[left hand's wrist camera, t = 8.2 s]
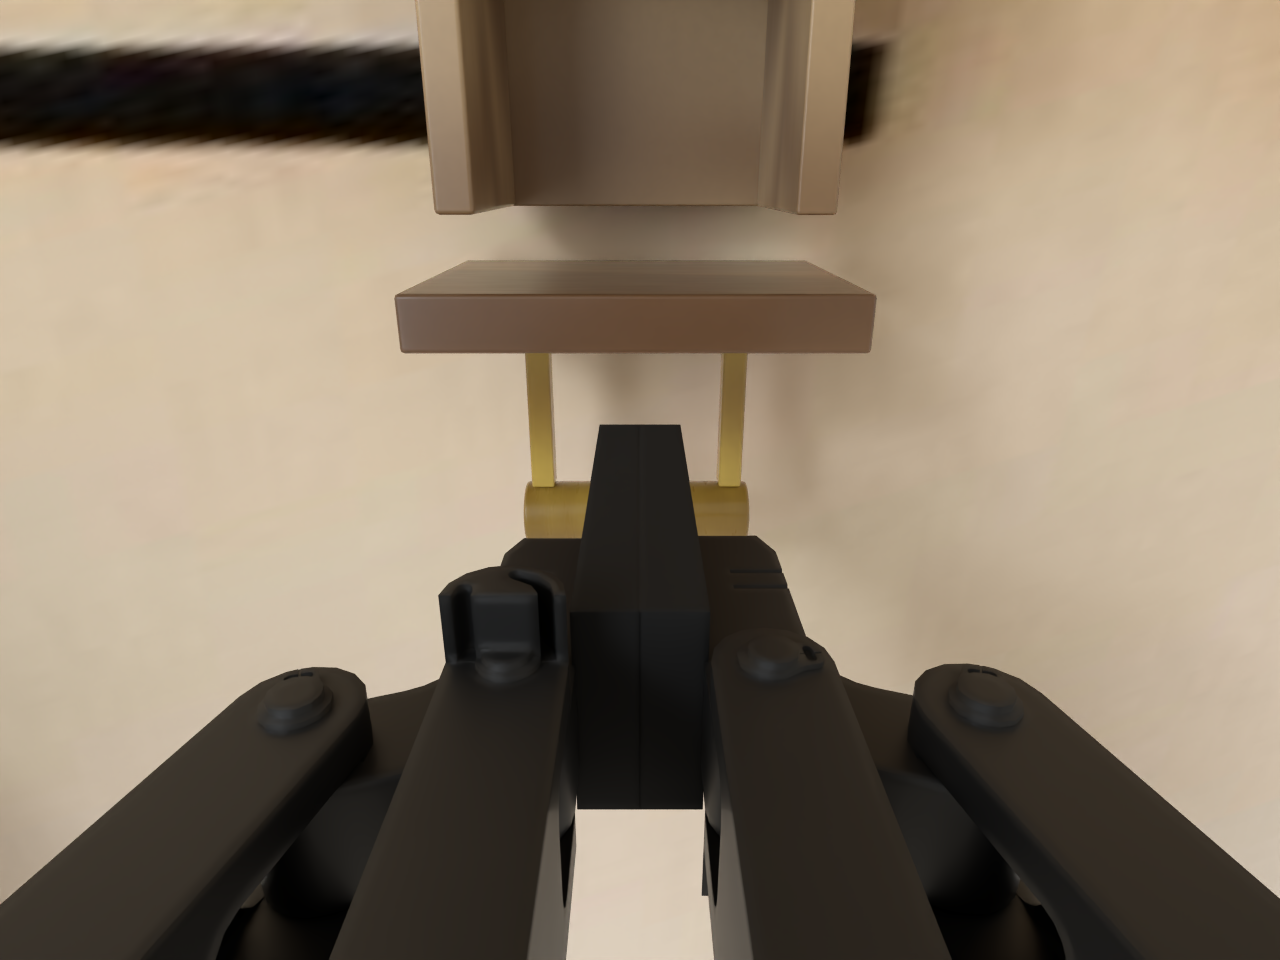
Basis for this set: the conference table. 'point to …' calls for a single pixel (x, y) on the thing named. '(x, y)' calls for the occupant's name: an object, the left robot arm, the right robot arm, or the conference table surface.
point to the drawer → (635, 195)
